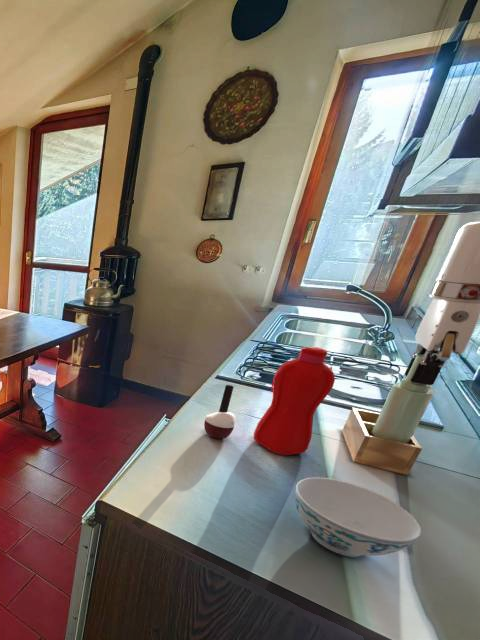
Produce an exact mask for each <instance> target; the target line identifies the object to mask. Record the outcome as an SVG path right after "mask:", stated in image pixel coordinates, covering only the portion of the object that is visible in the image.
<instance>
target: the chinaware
mask: <svg viewBox="0 0 480 640" xmlns="http://www.w3.org/2000/svg"><path fill="white" fill-rule="evenodd" d="M294 490H295V492H294V501H295V502H294V503H295V507H296V510H297V514H298V515H299V518H300V520H301V521H302V522H303V523H304V525H305V526H306V528H307V529H308V530H309V531H310V534H311V535H312V537H313V538H314V540H315V541H316V542H317V543H318V544H319V545H321V546H323V547H324V548H325V549H327V550H329V551H331V552H334V553H336V554H339V555H342V556H345V557H351V558H352V557H353V558H355V557H361V556H369V557H371V556H374V557H375V556H385V555H389V554H394V553H396V552H399V551H401V550H403V549H405V548H407V547H408V546H410V545H411V544H413V543H414V542H415V541H416V540H418V538H419V537H420V536H421V535H422V529H421V526H420V524H419V522H418V520H416V518H415V517H414V516H413V515H412V514H411V513H409V512H408V511H407V510H406V509H405V508H404V507H402V506H401V505H399V504H397V503H396V502H394V501H393V500H390V499H389V498H388V497H385V496H384V495H381V494H379V493H378V492H375V491H372V490H370V489H368V488H366V487H363V486H360V485H357V484H354V483H351V482H347V481H343V480H339V479H334V478H328V477H306V478H303V479H301V480H299V481H298V482H297V484H296V486H295V489H294Z"/></svg>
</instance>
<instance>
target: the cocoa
mask: <svg viewBox="0 0 480 640" xmlns="http://www.w3.org/2000/svg"><path fill="white" fill-rule="evenodd" d="M234 388H235V387H234V386H233V385H229V384H226V385H225V387H224V390H223V394H222V398H221V402H220V405H219V409H218V410H219V411H216V412H213V413H210V414H207V415H206V416H205V417H204V418H205V419H204V422H203V423H204V431H205V433H206V434H207V435H208V436H209V437H211V438H213V439H218V440H221V439H226V438H228V437H229V436H230V435H231V434H232V432H233V431H234V428H235V424H236V415H234V413H232V412H228V411H229V406H230V403H231V399H232V395H233V391H234Z"/></svg>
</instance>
